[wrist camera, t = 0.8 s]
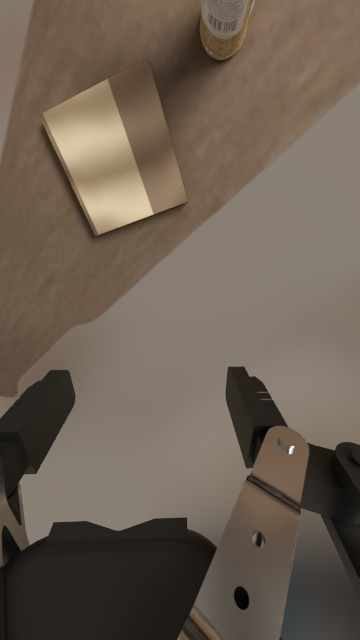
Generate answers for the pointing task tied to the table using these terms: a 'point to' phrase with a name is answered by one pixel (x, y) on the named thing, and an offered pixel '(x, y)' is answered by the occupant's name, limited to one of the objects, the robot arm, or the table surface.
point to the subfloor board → (117, 149)
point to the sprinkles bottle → (224, 26)
